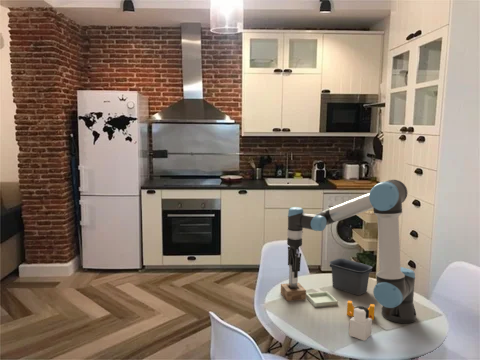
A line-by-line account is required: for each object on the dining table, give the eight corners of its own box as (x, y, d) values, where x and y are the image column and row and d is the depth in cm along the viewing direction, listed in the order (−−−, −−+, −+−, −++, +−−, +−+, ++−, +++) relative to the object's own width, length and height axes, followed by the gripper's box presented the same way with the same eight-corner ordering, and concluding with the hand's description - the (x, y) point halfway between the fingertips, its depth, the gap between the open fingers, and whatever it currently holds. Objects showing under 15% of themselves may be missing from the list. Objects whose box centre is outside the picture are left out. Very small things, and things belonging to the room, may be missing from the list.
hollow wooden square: (305, 299, 202) (305, 290, 201) (287, 301, 199) (287, 291, 199) (298, 291, 211) (298, 282, 211) (280, 293, 209) (280, 284, 208)
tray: (337, 305, 195) (337, 301, 195) (315, 307, 193) (315, 303, 192) (326, 295, 207) (327, 291, 207) (305, 297, 204) (305, 293, 204)
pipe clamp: (373, 316, 185) (374, 302, 184) (373, 320, 181) (374, 306, 180) (347, 311, 189) (348, 299, 188) (346, 315, 185) (347, 302, 184)
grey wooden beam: (297, 292, 204) (298, 265, 202) (290, 292, 203) (291, 266, 201) (294, 289, 207) (295, 263, 205) (288, 289, 206) (289, 264, 204)
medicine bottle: (355, 329, 172) (356, 302, 171) (371, 334, 168) (373, 307, 166) (348, 335, 167) (349, 308, 165) (364, 341, 162) (366, 313, 161)
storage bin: (325, 287, 218) (326, 262, 216) (340, 280, 229) (342, 256, 227) (360, 299, 203) (361, 272, 201) (375, 291, 213) (376, 265, 212)
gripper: (308, 241, 194) (306, 287, 197) (295, 233, 210) (294, 275, 213) (293, 242, 193) (292, 288, 196) (282, 233, 208) (281, 276, 211)
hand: (293, 281), depth 204 cm, fingers closed on grey wooden beam, 3 cm apart
